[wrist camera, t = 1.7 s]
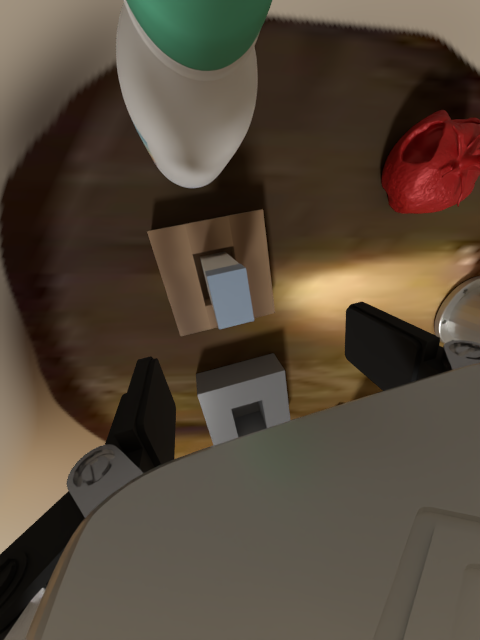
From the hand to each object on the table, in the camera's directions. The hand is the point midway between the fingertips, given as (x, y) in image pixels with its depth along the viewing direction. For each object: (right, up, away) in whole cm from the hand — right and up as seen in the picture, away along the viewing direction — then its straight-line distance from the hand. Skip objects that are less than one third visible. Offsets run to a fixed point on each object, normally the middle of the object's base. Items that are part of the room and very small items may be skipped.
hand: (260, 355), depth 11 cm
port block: (0, -11, +27) cm, 29 cm away
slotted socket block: (-4, +8, +18) cm, 20 cm away
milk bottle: (-6, +19, +12) cm, 24 cm away
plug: (-4, +7, +17) cm, 19 cm away
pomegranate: (+20, +20, +18) cm, 34 cm away
